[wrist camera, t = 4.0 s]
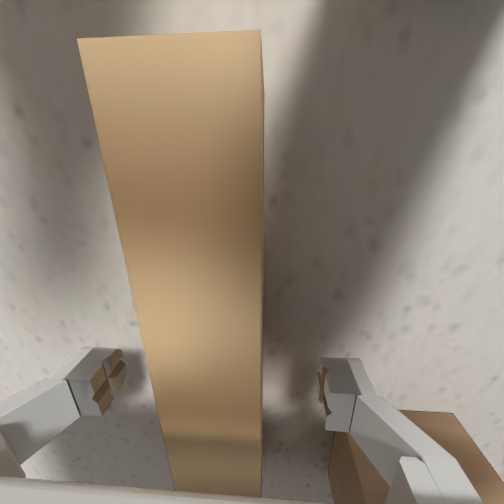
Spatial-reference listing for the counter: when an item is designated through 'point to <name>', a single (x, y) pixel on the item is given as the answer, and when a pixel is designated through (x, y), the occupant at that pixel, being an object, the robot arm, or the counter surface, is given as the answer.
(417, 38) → the counter surface
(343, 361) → the robot arm
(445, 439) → the walnut block
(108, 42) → the oak rail
